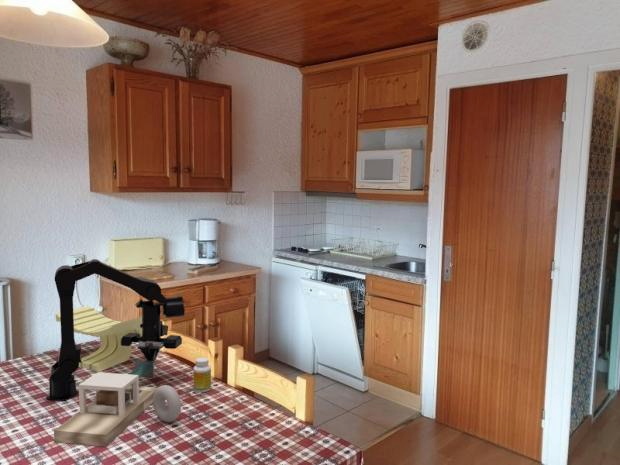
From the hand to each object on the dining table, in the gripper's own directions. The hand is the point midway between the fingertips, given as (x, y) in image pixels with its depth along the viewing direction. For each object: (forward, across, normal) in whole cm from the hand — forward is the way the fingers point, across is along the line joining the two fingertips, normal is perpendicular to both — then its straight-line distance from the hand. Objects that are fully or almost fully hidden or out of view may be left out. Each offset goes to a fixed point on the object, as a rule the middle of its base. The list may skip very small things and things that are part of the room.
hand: (151, 366), depth 161 cm
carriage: (+2, 0, +17) cm, 17 cm away
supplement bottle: (+6, -18, +3) cm, 19 cm away
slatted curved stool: (+6, +26, -16) cm, 31 cm away
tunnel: (+2, 0, +26) cm, 26 cm away
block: (+2, 0, +26) cm, 26 cm away
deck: (+6, 0, +26) cm, 26 cm away
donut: (+6, -16, +25) cm, 30 cm away
